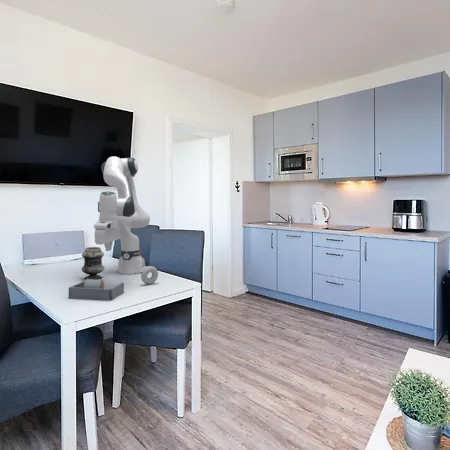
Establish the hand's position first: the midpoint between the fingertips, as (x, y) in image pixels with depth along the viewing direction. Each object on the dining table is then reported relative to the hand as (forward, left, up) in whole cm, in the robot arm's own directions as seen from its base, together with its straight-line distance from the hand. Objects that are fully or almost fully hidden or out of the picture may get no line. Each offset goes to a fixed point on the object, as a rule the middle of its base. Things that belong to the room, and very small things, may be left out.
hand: (108, 250), depth 166 cm
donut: (-13, +17, -20) cm, 29 cm away
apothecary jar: (-20, -20, -20) cm, 34 cm away
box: (+11, 0, -20) cm, 23 cm away
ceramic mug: (+10, -3, -20) cm, 23 cm away
